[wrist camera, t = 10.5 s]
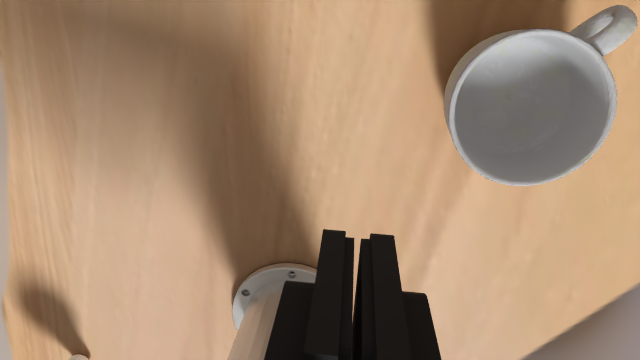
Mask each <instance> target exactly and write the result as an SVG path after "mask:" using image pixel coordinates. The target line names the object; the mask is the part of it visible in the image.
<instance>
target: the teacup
mask: <svg viewBox="0 0 640 360" xmlns="http://www.w3.org/2000/svg"><path fill="white" fill-rule="evenodd" d="M637 22H638V21H637V17H636V15H635V13H634V12H633V11H632V10H631V9H629V8H628V7H626V6H623V5H616V6H612V7H609V8H607V9H605V10H603V11H601V12H599V13H597V14H596V15H594V16H592V17H591V18H589V19H588V20H586V21H585V22H583V23H582V24H580V25H579V26H578V27H576V28H575V29H573V30H572V31H571V32H569V33H567V32H563V31H560V30H554V29H526V30H513V31H507V32H503V33H499V34H496V35H494V36H491V37H489V38H487V39H485V40H483V41H481V42H480V43H478V44H477V45H475V46H474V47H473V48H471V49H470V50H469V51H468V52H467V53H466V54H465V55H464V56H463V57H462V58H461V59H460V60H459V62H458V63H457V65H456V66H455V68H454V69H453V71H452V73H451V75H450V77H449V79H448V82H447V85H446V89H445V94H444V115H445V119H446V123H447V126H448V129H449V131H450V134H451V137H452V140H453V142H454V145H455V147H456V149H457V151H458V152H459V154H460V155H461V157H462V158H463V160H464V161H465V162H466V163H467V164H468V165H469V166H470V167H471V168H472V169H473V170H475V171H476V172H477V173H479V174H480V175H482V176H484V177H485V178H487V179H490V180H492V181H495V182H497V183H502V184H507V185H513V186H531V185H538V184H543V183H547V182H550V181H553V180H556V179H559V178H562V177H563V176H565V175H568V174H569V173H571V172H572V171H574V170H576V169H577V168H579V167H580V166H582V165H583V164H584V163H585V162H586V161H587V160H589V159H590V158H591V156H592V155H593V154H594V153H595V152H596V150H597V149H598V148H599V147H601V145H602V143H603V142H604V140H605V139H606V137H607V135H608V134H609V132H610V130H611V127H612V124H613V120H614V117H615V114H616V108H617V90H616V85H615V81H614V78H613V75H612V73H611V71H610V69H609V67H608V65H607V63H606V62H605V60H604V58H603V56H604V55H606V54H608V53H609V52H611V51H613V50H614V49H615V48H617V47H618V46H620V45H621V44H622V43H623V42H625V41H626V40H627V39H628V38H629V37H630V36H631V35H632V33H633V32H634V30H635V29H636V27H637Z"/></svg>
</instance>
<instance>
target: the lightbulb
mask: <svg viewBox="0 0 640 360" xmlns="http://www.w3.org/2000/svg"><path fill="white" fill-rule="evenodd" d="M69 360H88V358H87V357H86V356H84V355H80V354H77V355H73V356H72V357H71V358H70V359H69Z"/></svg>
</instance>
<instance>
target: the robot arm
mask: <svg viewBox="0 0 640 360" xmlns="http://www.w3.org/2000/svg"><path fill="white" fill-rule="evenodd" d="M345 235H346V231H337V230H325V229H323V235H322V241H321V247H320V253H319V259H318V266H317V270H316V269H314V268H312V267H308V266H305V265H302V264H294V263H278V264H273V265H268V266H266V267H263V268H261V269H258V270H257V271H255V272H253V273H252V274H250V275H249V276H248V277H247V278H246V279H245V280H244V281H243V282H242V284H241V285H240V287H239V289H238V290H237V293H236V295H235V298H234V301H233V306H232V317H233V321H234V324H235V327H236V329H237V331H238V332H237V335H236V338H235V340H234V343H233V346H232V348H231V351H230V354H229V357H228V359H227V360H441V356H440V352H439V347H438V343H437V338H436V334H435V330H434V325H433V321H432V316H431V312H430V308H429V303H428V299H427V296H426V294H425V293H415V292H404V291H402V288H401V281H400V274H399V268H398V261H397V254H396V247H395V240H394V236H393V235H383V234H370V239H361V245H360V254H359V264H358V274H357V284H356V294H355V304H354V314H353V323H352V311H353V269H354V238H348V237H345Z"/></svg>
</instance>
